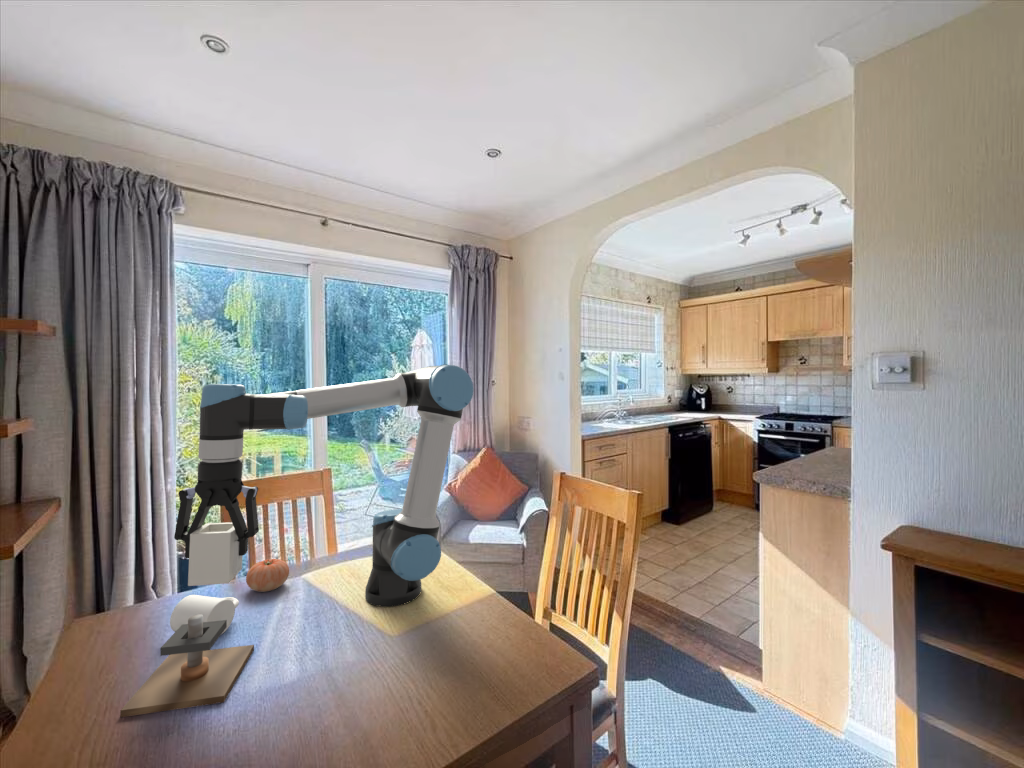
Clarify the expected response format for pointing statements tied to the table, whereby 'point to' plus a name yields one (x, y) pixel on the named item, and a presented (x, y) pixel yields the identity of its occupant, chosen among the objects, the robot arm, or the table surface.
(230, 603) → the mug
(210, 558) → the sleeve
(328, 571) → the table surface
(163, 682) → the peg stacking board
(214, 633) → the ring
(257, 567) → the pumpkin
